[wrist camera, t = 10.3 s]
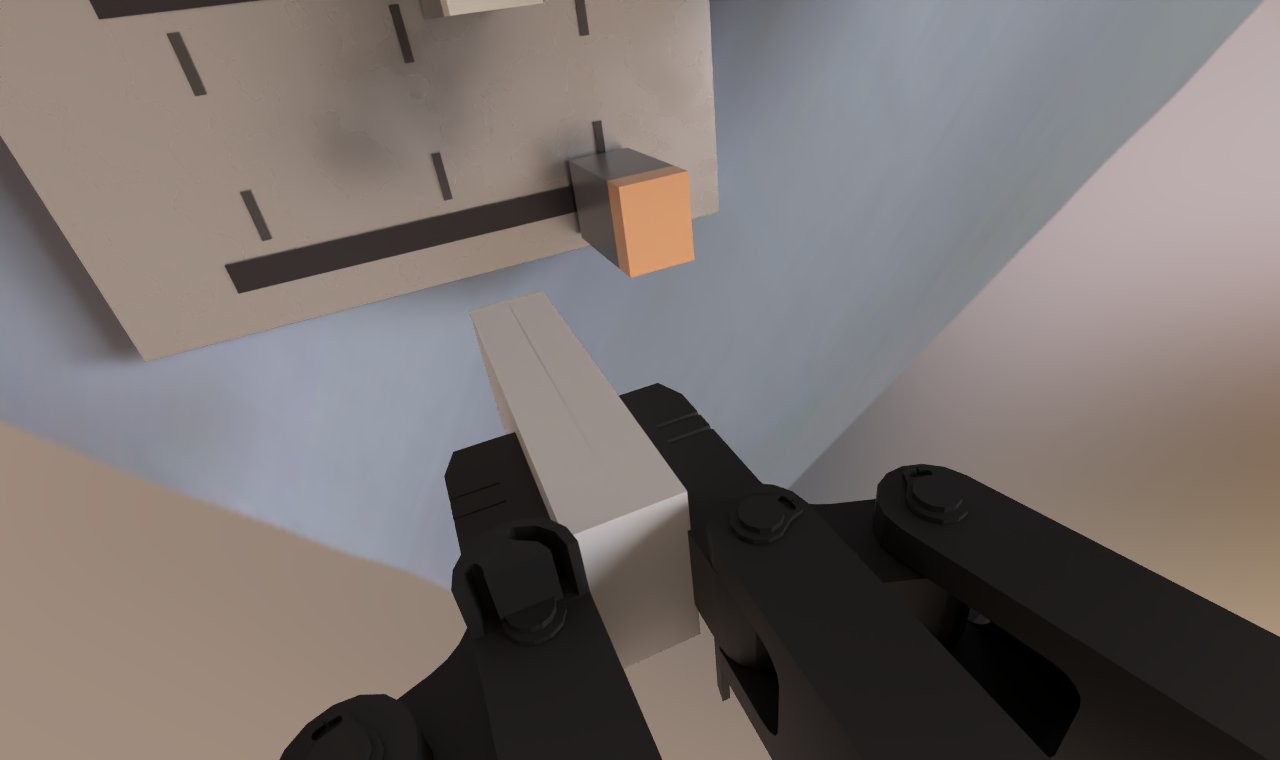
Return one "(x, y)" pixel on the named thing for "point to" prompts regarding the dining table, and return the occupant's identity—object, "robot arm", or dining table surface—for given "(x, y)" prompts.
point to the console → (333, 143)
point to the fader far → (634, 210)
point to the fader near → (468, 6)
